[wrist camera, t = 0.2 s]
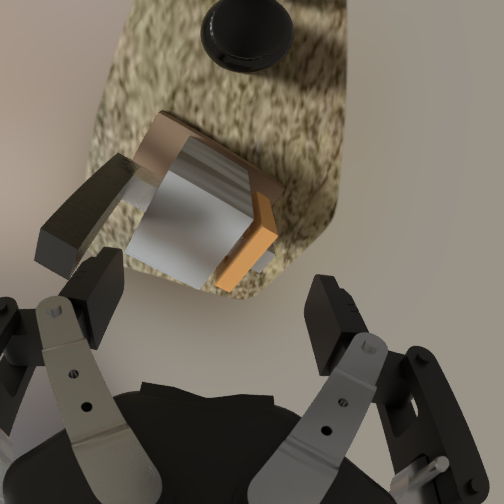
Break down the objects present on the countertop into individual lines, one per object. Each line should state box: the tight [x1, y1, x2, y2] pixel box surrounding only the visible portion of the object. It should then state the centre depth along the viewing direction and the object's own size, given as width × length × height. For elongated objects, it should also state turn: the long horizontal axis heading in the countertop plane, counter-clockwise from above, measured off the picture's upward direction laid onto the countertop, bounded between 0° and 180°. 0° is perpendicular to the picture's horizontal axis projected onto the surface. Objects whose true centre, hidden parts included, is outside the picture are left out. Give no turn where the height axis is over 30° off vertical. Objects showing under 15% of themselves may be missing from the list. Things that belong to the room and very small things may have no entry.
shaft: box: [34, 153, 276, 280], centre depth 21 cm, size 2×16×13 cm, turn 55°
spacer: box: [215, 191, 278, 292], centre depth 28 cm, size 7×2×7 cm, turn 145°
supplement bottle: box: [200, 0, 294, 74], centre depth 19 cm, size 7×7×12 cm
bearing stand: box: [125, 111, 285, 290], centre depth 28 cm, size 9×16×12 cm, turn 55°
